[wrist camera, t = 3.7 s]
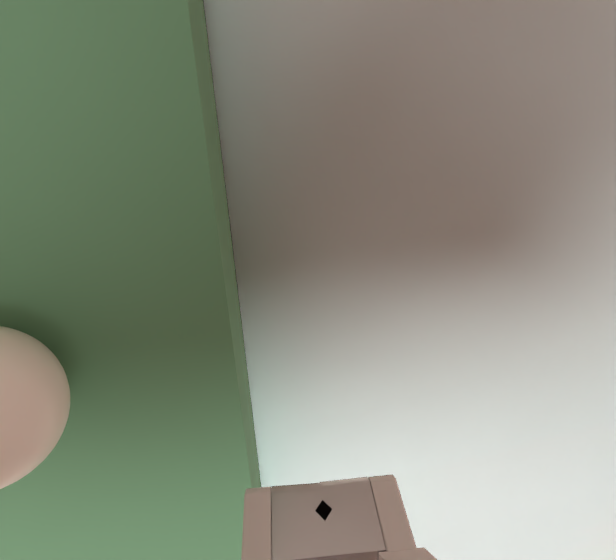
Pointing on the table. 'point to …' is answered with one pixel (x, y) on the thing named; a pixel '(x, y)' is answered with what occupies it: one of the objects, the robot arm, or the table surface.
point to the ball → (29, 404)
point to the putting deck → (123, 282)
